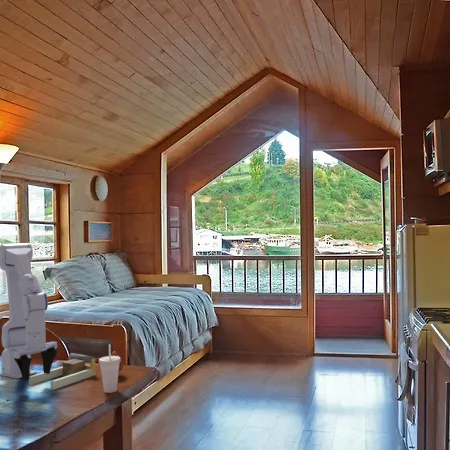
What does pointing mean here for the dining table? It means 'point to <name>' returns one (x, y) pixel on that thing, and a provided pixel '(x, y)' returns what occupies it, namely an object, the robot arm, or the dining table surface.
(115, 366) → the smoothie
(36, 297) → the robot arm
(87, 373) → the cream u-shaped frame
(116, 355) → the onion
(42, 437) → the dining table surface
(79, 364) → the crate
